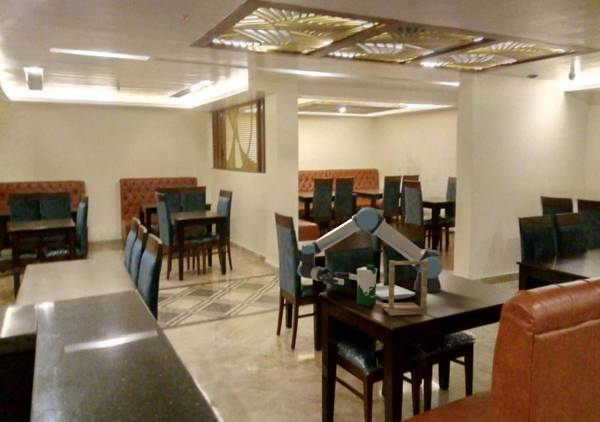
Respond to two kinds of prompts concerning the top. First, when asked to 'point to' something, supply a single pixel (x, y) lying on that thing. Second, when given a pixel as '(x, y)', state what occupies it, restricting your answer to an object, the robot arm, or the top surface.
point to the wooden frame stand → (406, 307)
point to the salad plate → (399, 292)
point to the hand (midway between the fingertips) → (351, 280)
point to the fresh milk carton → (366, 285)
